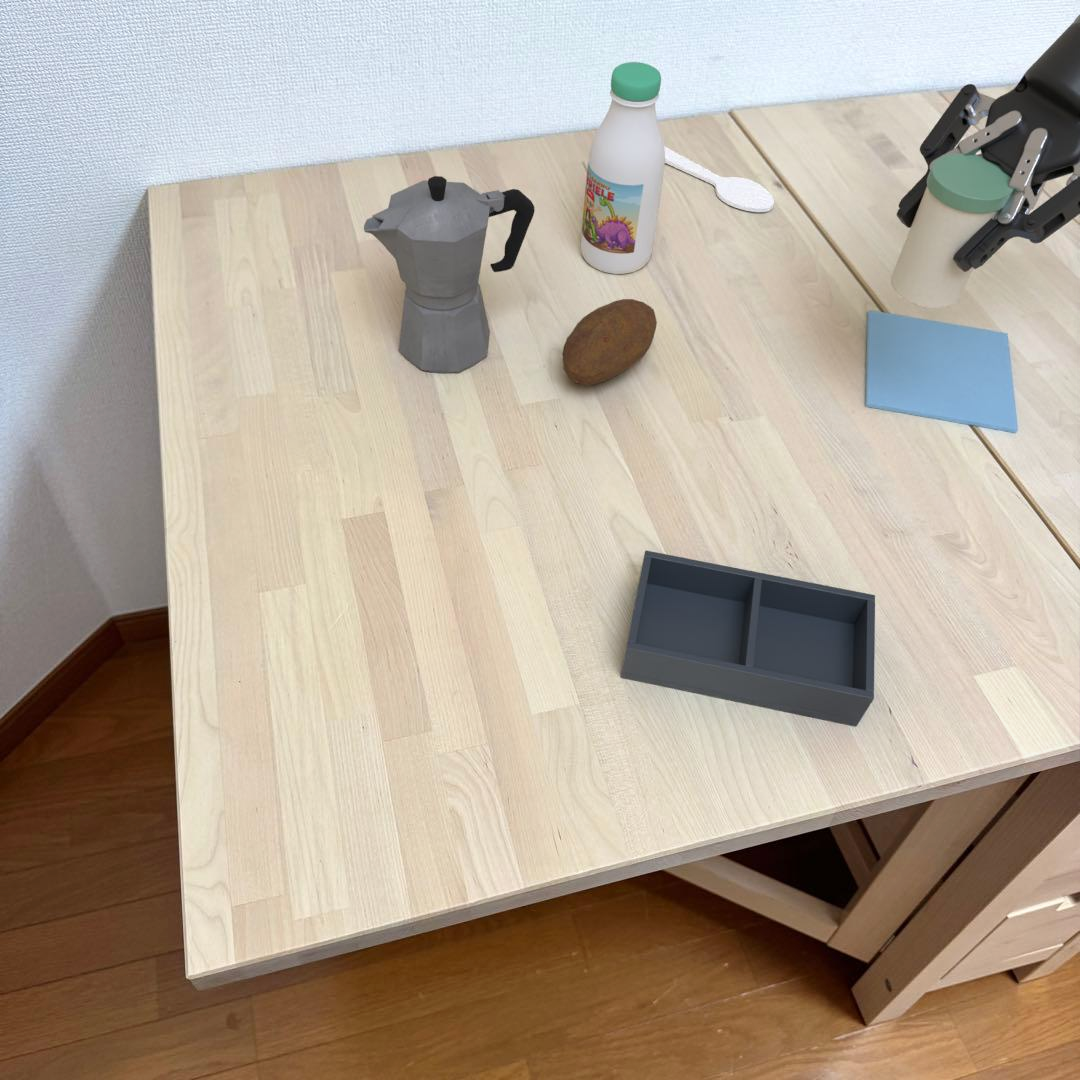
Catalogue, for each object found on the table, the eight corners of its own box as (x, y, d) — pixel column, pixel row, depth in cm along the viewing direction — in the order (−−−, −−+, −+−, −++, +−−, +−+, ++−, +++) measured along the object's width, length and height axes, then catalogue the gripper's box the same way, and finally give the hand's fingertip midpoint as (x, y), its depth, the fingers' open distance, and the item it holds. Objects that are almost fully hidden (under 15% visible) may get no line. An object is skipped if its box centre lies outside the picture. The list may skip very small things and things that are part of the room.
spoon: (660, 139, 122) (660, 135, 122) (783, 199, 115) (784, 195, 115) (632, 156, 119) (633, 152, 119) (757, 219, 112) (758, 215, 112)
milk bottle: (618, 223, 111) (639, 43, 95) (666, 258, 108) (696, 77, 92) (565, 249, 108) (578, 67, 92) (613, 285, 105) (634, 103, 89)
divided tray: (638, 581, 81) (645, 549, 78) (859, 625, 80) (875, 594, 76) (620, 677, 76) (626, 648, 72) (856, 727, 74) (874, 699, 71)
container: (976, 288, 81) (1030, 178, 73) (937, 320, 78) (988, 209, 71) (913, 254, 84) (958, 143, 76) (873, 284, 81) (916, 172, 73)
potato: (541, 384, 95) (544, 327, 90) (610, 322, 101) (617, 265, 95) (599, 416, 93) (605, 360, 87) (666, 351, 99) (676, 295, 93)
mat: (1005, 336, 102) (1007, 333, 102) (1016, 433, 94) (1018, 429, 93) (867, 313, 103) (868, 309, 103) (865, 406, 95) (866, 402, 95)
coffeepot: (391, 389, 94) (374, 224, 80) (367, 326, 99) (346, 161, 85) (545, 356, 97) (554, 192, 83) (513, 296, 103) (517, 133, 89)
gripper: (1198, 133, 71) (1008, 315, 76) (1046, 42, 78) (882, 214, 84) (1192, 75, 65) (985, 277, 70) (1027, -17, 72) (852, 172, 78)
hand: (930, 242), depth 77 cm, fingers closed on container, 5 cm apart
